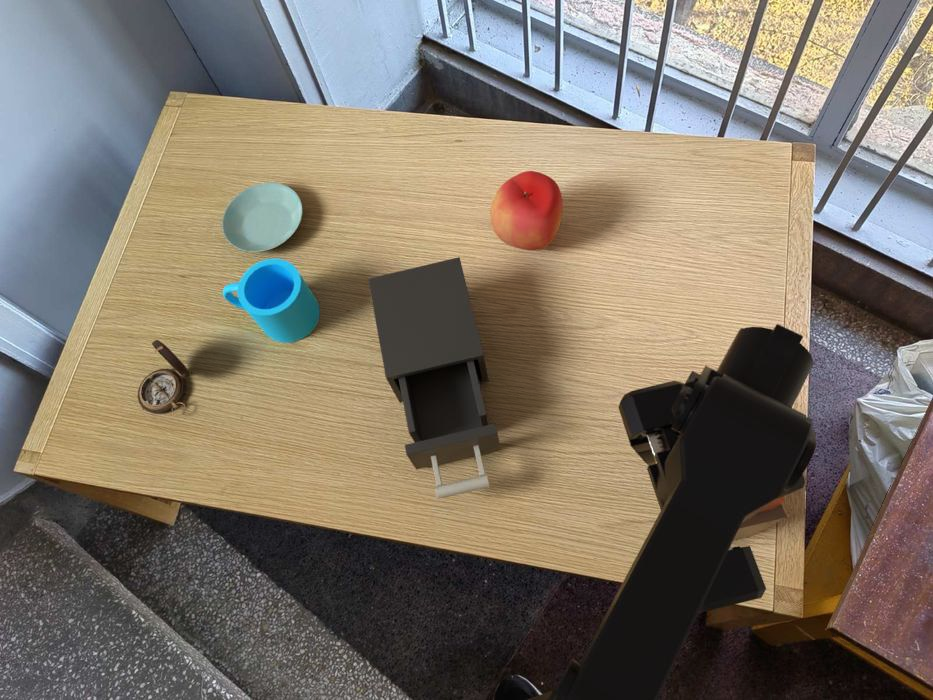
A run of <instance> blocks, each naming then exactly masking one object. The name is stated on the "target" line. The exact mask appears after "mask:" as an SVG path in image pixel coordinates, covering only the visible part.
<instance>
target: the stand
mask: <svg viewBox="0 0 933 700" xmlns="http://www.w3.org/2000/svg"><path fill="white" fill-rule="evenodd" d="M786 518H787V515H786V512H785V509H784V507H783V505H782V504H780V505H779V506H777V507H775V508H774V509H772V510H768V511H763V512H759V513H757V514H756V515H754V516H753V517H751V518H749V519H747V520H746V521H744V522H742V524H741V526H740V528H739V530H738V531H737V533H736V535H735V538H734V540H733V542H734V541H737V540H743V539H745V538H750V537H753V536H754V535H756V534H758V533H760V532H762V531H764V530H766V529H768V528H769V527H771V526H773V525H776V524H777V523H779V522H780V521H782V520H784V519H786Z"/></svg>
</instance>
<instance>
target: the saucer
mask: <svg viewBox="0 0 933 700" xmlns="http://www.w3.org/2000/svg"><path fill="white" fill-rule="evenodd" d="M299 196H300V195H298V194H297V192H296V191H294V189H292V188H291V187H289V186H287V185H285V184H282V183H278V182H262V183H258V184H254V185H252V186H249V187H247V188H245V189H244V190H242V191H241V192H239V193H238V194H237V195H235V196H234V197H233V199H231V201H230V202H229V203H228V205H227V206H226V207H225V210H224V213H223V215H222V222H221V228H222V233H223V235H224V238H225V239H226V241H227V242H228V243H229V244H230V245H231V246H232V247H234V248H236V249H238V250H239V251H243V252H250V253H260V252H265V251H269V250H272V249H274V248H277V247H279V246H280V245H282V244H285V242H286V241H288V240H289V239H290V238H291V237H292V236H293V234H294V233H295V232H296V231H297V229H298V227H299V225H300V224H301V221H302V218H303V204H302V201H301V198H300V197H299Z"/></svg>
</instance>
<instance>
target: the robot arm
mask: <svg viewBox="0 0 933 700" xmlns="http://www.w3.org/2000/svg"><path fill="white" fill-rule="evenodd" d="M803 338H804V336H803V335H802V334H800V333H798V332H796V331H795V330H794V331H793V330H791V329H789V328H787V327H785V326H783V325H781V324H779V323H777V324H776V325H775V326H774V327H773V328H769V327H763V326H748V327H744V328H742V327H741V328H740V329H739V330H738V332H737V333H736V335H735V337H734V339H733V340H732V342H731V344H730V346H729V347H728V350H727V351H726V353H725V354H724V356H723V358H722V360H721V361H720V364H719V366H718V367H717V370H715V369H713V368H711V367H709V366H707V365H705V366H704V367H703V369H702V371H701V372H700V373H698V372H696V371H694V370H691V372H690V374H689V375H688V377H687V379H686V381H685V382H682V381H680V380H671V381H667V382H662V383H659V384H655V385H651V386H646V387H642V388H638V389H633V390H631V391H628V392H627V393H625V394H623V396H622V398H621V399H620V402H619V405H618V410H619V414H620V417H621V420H622V423H623V427H624V429H625V432H626V437H627V439H628V442H629V445H630V447H631V448H632V449H633V451H635V453H636V454H637V455H638V456H639V457H640V459H642V461H643V462H644V463H645V464H646V465H647V468H646V470H647V473H648V476H649V479H650V482H651V485H652V488H653V491H654V494H655V497H656V500H657V504H658V506H659V509H660V512H659V513H658V515H657V516H656V519H655V520H654V523H653V524H652V527H651V528H650V531H649V533H647V536H646V538H645V540H644V542H643V543H642V546H641V547H640V548H639V551H638V553H637V555H636V556H635V558H634V560H633V562H632V564H631V566H630V567H629V570H628V571H627V573H626V575H625V577H624V579H623V581H622V583H621V585H620V586H619V589H618V591H617V592H616V594H615V596H614V598H613V600H612V602H611V604H610V605H609V607H608V610H607V611H606V612H605V615H604V617H603V619H602V620H601V622H600V624H599V626H598V628H597V630H596V632H595V633H594V635H593V638H592V640H591V641H590V643H589V645H588V647H587V649H586V650H585V652H584V654H583V656H582V658H581V660H580V661H579V662H578V661H576V660H575V659H574V658H572V659H571V660H570V662H569V663H568V665H567V667H566V668H565V669H564V672H563V673H562V675H561V676H560V678H559V680H558V682H557V683H556V685H555V687H554V688H553V689H552V690H550V691H547V692H544V693H541V694H539V695H536V696H533V697H530V698H526V697H525V696H523V698H522V700H658V699H659V697H660V695H661V692H662V690H663V688H664V686H665V684H666V682H667V679H668V678H669V676H670V673H671V672H672V669H673V667H674V666H675V663H676V661H677V659H678V657H679V655H680V653H681V651H682V649H683V646H684V645H685V642H686V640H687V638H688V636H689V634H690V631H691V629H692V628H693V625H694V624H695V621H696V619H697V617H698V616H699V614H701V613H704V612H705V613H706V612H709V611H714V610H718V609H722V608H726V607H730V606H734V605H737V604H742V603H746V602H751V601H754V600H757V599H758V600H759V599H762V597H763V595H764V594H765V592H766V590H767V586H766V584H765V582H764V579H763V577H762V574H761V571H760V568H759V566H758V563H757V561H756V558H755V556H754V553H753V551H752V548H751V546H750V545H748V546H740V545H739V546H732V544H733V542H734V541H735V540H734V538H735V535H736V533H737V531H738V530H739V528H740V526H741V524H742V522H744V521H746V520H747V519H749V518H751V517H753V516H754V515H756V514H757V513H758V512H760V511H761V510H762V509H764V508H765V507H766V506H767V505H769V504H770V503H771V502H773V501H774V500H776V499H778V498H780V497H783V496H784V497H785V496H788V495H790V494H792V493H794V492H797V491H799V490H801V489H803V488H804V487H805V484H806V479H805V475H804V473H805V471H806V469H807V468H808V466H809V464H810V462H811V460H812V458H813V456H814V453H815V451H816V449H817V439H816V434H815V433H816V432H815V428H814V423H813V419H812V418H810V417H809V416H807V415H806V414H805V413H802V412H801V411H799V410H797V409H796V408H795V409H794V408H793V406H794V404H795V402H796V400H797V398H798V396H799V394H800V392H801V390H802V388H803V386H804V384H805V382H806V380H807V378H808V376H809V374H810V372H811V370H812V368H813V366H814V365H815V363H814V359H813V356H812V354H811V352H810V351H809V350H808V348H806V347H805V346H804V345H803V344H802V342H801V341H802V340H803ZM733 540H734V541H733Z"/></svg>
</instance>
